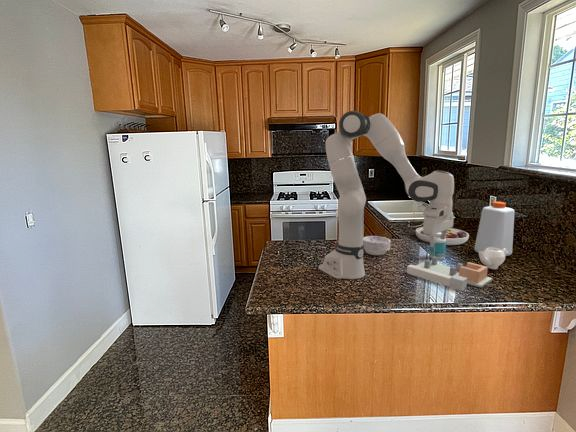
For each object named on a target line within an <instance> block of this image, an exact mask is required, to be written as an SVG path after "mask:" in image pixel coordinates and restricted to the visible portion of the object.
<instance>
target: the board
mask: <svg viewBox="0 0 576 432" xmlns="http://www.w3.org/2000/svg"><path fill="white" fill-rule="evenodd" d="M438 261H439V260H438V257H432V259H431V260H429V259H426V260H424V261H423V262H421V263H417V265H415V266H418V267H422V268H425V269H428V270H432V271H435V272H439V273H442V274H446V275H449V276H454V275H458V276H462V277H465V278H467V285H471V286H473V287H478V288H481V289H482V288H483V287H485V286H486V285H487V284H490V283H491V282H492V281H493V277H489V276H488V270H489V268H488V267H486V265H482V264H477V263H474V262H469V261H468V262H466V266H464V263H461V262H458V263H457V264H456V266H449V265H445V264H442V263H438Z"/></svg>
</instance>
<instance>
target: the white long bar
mask: <svg viewBox="0 0 576 432" xmlns="http://www.w3.org/2000/svg"><path fill="white" fill-rule="evenodd" d="M406 274H408V275H412V276H414V277H418V278H421V279H424V280H427V281H432V282H434V283H437V284H440V285H444V286H446V287H448V288H451V289H454V290H458V291H461V292H462V291H464V290H465V289H467V286H468V284H467V278H465V277H462V276H458V275H454V276H449V275H446V274H442V273H439V272H435V271H432V270H428V269H425V268H422V267H418V266H416V265H414V264H409V265H407V266H406Z"/></svg>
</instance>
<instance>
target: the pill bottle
mask: <svg viewBox="0 0 576 432" xmlns="http://www.w3.org/2000/svg"><path fill="white" fill-rule="evenodd" d="M441 234H442V233H441V232H439V233H436V234H435V236H434V238H435V239H436V241H435V243H434V244H431V243H429V252H428V257H429V258H430V259H431V260H432V257H438V261H442V260H444V259H445V256H446V247H447V245H446V239H444V240H443V239H440V235H441Z"/></svg>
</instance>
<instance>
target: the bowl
mask: <svg viewBox="0 0 576 432" xmlns="http://www.w3.org/2000/svg"><path fill="white" fill-rule="evenodd" d="M441 233H442V232H441ZM415 235H416V237H417V238H418V239H419V240H421V241H423V242H426V243H429V244H430V238H429V235H427V234H424V232H423V226H420V227H418V228H416V229H415ZM469 238H470V235H469V233H468V232H466V231H464V230H461V229H457V228H453V227H452V228H449V229H448V232H447V234H446V246H458V245H463V244H465V243H466V242H467V241H468V240H469Z"/></svg>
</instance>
